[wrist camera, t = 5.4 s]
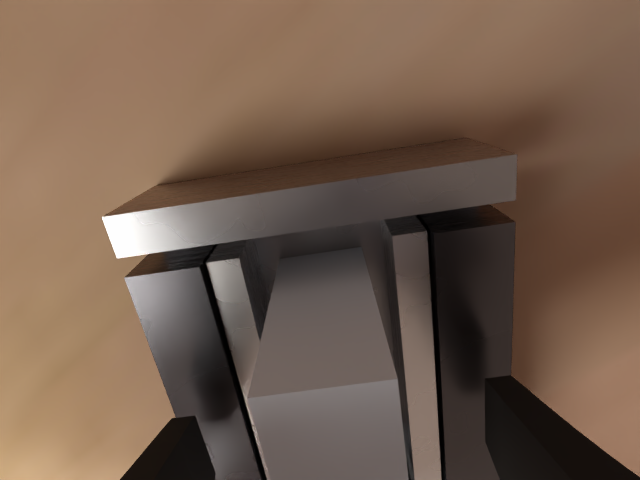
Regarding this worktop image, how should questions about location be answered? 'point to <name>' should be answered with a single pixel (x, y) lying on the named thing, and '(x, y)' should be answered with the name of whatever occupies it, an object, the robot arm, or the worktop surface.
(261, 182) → the rack
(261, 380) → the panel
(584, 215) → the worktop surface
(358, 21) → the worktop surface
